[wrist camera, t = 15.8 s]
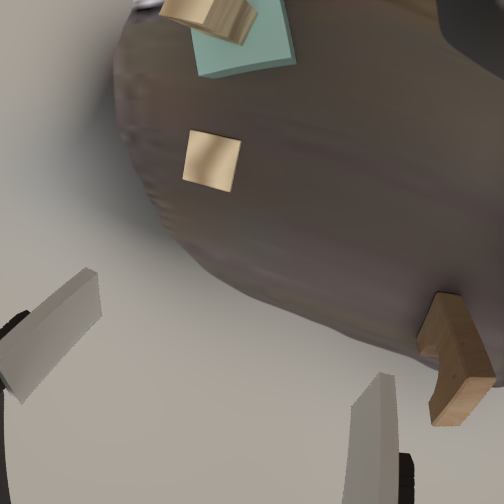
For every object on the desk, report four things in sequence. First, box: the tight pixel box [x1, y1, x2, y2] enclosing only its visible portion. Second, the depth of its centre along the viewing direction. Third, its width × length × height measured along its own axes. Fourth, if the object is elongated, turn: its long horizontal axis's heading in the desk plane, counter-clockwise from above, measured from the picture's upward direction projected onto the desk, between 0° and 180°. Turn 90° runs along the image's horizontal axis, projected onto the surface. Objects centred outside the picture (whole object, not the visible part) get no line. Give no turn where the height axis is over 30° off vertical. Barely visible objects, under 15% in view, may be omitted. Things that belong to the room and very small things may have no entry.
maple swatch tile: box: [183, 130, 242, 192], centre depth 45 cm, size 8×8×1 cm
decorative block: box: [416, 292, 497, 426], centre depth 38 cm, size 11×6×20 cm, turn 176°
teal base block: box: [191, 0, 297, 79], centre depth 33 cm, size 12×12×6 cm
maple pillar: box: [159, 0, 258, 46], centre depth 25 cm, size 5×5×12 cm
